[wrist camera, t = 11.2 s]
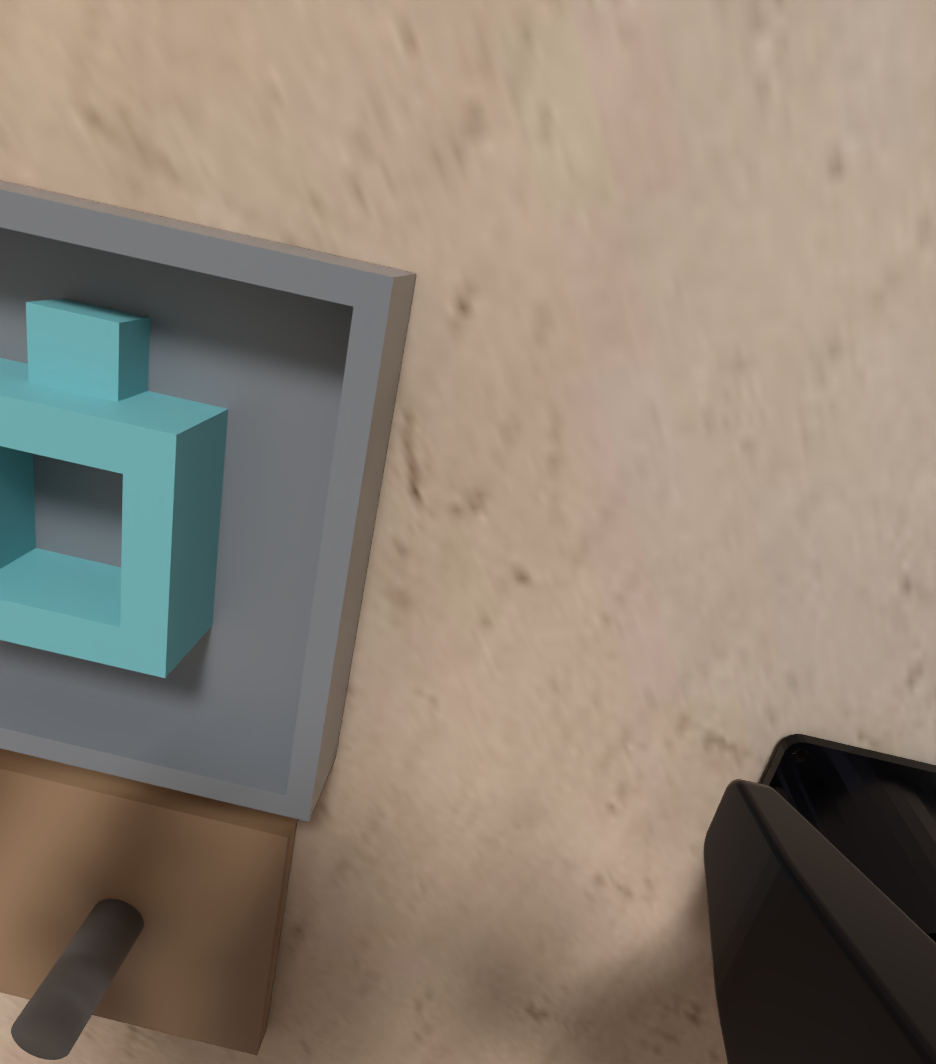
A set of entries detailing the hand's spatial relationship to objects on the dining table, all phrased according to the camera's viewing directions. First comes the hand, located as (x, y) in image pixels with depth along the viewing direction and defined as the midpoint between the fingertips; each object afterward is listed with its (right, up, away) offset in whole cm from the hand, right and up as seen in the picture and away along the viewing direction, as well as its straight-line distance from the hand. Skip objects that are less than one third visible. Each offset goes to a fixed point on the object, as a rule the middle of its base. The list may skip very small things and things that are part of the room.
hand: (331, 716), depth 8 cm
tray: (-9, +3, +14) cm, 17 cm away
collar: (-9, +3, +13) cm, 16 cm away
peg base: (-12, -12, +20) cm, 26 cm away
